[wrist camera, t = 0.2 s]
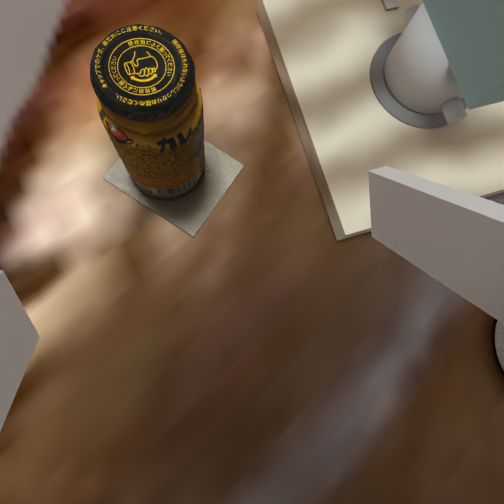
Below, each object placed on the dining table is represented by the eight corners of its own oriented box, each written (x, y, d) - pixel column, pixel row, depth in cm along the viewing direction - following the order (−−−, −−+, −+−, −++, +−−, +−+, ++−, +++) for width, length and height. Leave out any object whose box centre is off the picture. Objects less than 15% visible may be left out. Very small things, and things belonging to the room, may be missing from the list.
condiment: (157, 110, 31) (127, -17, 20) (243, 166, 31) (263, 71, 20) (103, 179, 30) (34, 84, 18) (193, 237, 30) (182, 180, 18)
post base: (559, 176, 34) (583, 165, 32) (337, 240, 31) (347, 234, 29) (467, -27, 38) (483, -49, 35) (256, 11, 34) (260, -11, 32)
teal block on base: (487, 130, 31) (696, -16, 18) (413, 149, 30) (575, 9, 17) (434, 7, 33) (587, -210, 20) (362, 21, 32) (472, -198, 19)
